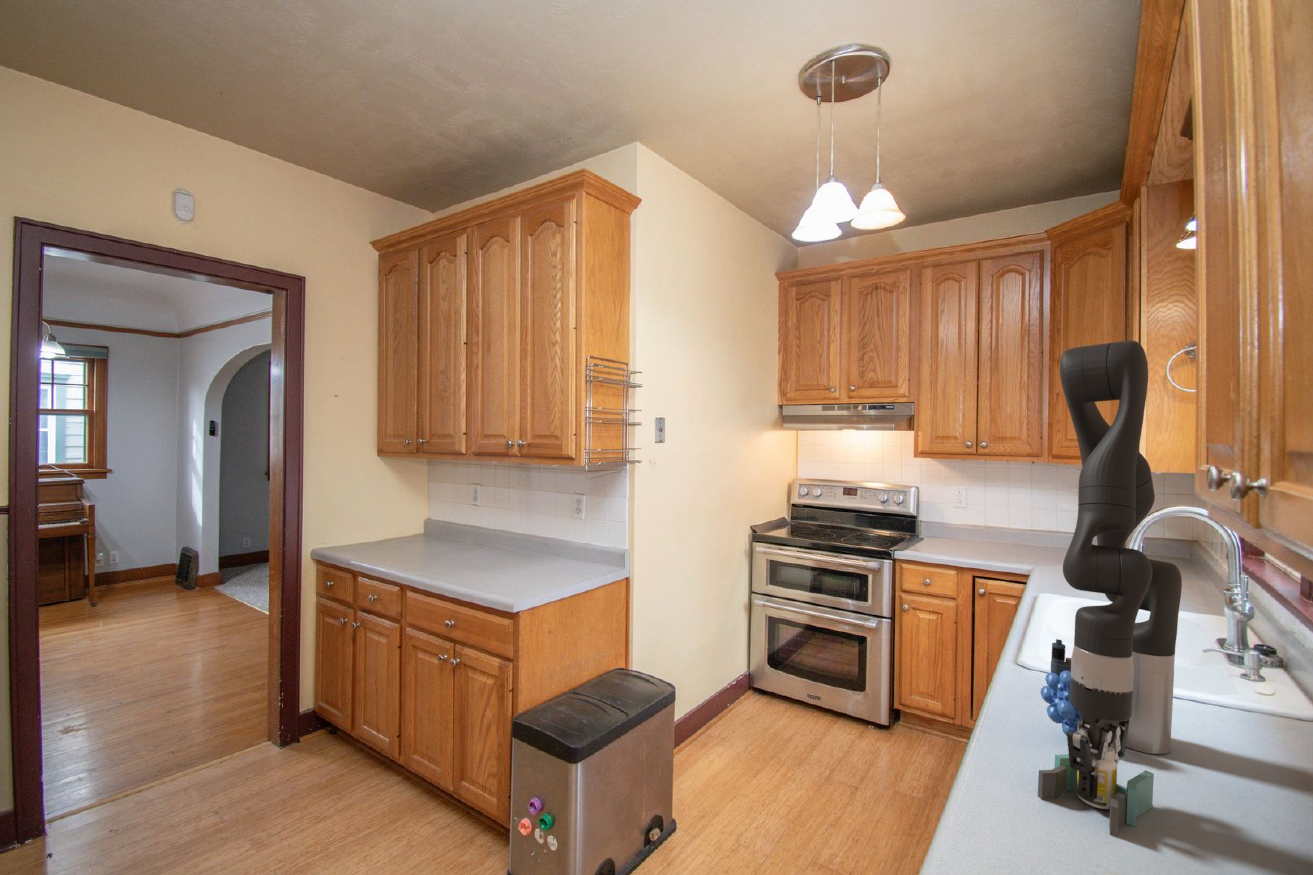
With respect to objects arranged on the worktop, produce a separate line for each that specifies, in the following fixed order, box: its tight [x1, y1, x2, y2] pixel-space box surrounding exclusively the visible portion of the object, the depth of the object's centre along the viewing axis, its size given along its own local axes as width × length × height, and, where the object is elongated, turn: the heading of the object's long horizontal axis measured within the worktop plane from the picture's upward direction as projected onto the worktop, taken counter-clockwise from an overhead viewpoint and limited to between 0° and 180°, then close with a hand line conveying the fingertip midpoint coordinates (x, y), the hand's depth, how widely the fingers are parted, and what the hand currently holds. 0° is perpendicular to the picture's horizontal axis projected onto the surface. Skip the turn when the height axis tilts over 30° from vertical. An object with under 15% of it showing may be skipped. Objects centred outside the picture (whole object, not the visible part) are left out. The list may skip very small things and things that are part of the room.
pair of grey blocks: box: [1037, 765, 1127, 838], centre depth 88 cm, size 5×10×4 cm, turn 31°
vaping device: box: [1050, 638, 1072, 677], centre depth 127 cm, size 3×5×12 cm, turn 82°
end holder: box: [1054, 753, 1155, 827], centre depth 92 cm, size 9×11×5 cm
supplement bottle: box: [1076, 746, 1118, 810], centre depth 90 cm, size 5×5×8 cm
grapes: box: [1040, 671, 1081, 737], centre depth 109 cm, size 12×7×12 cm, turn 28°
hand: (1096, 791), depth 90 cm, fingers closed on supplement bottle, 4 cm apart
